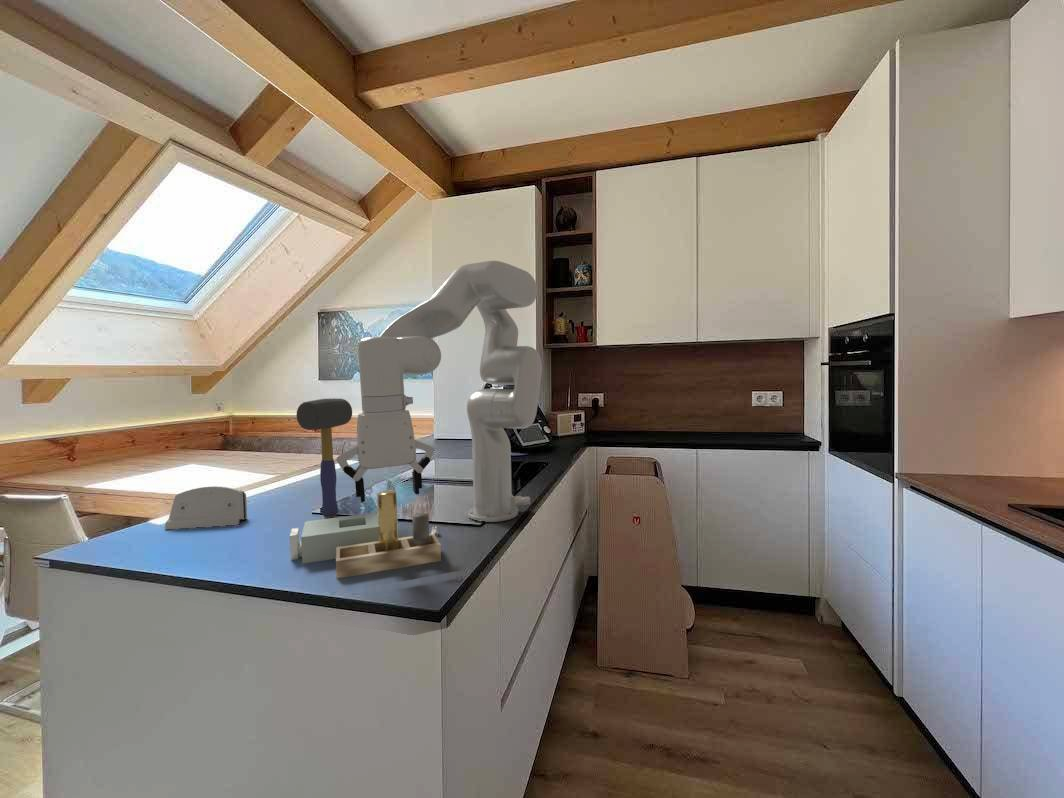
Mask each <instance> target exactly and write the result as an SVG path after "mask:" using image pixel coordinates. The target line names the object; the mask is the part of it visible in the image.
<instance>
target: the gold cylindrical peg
mask: <svg viewBox="0 0 1064 798" xmlns="http://www.w3.org/2000/svg"><path fill="white" fill-rule="evenodd" d="M376 495H377V499H376V500H377V516H378V526H379V550H380V552H384V551H390V550H396V549H399V546H398V538H399V525H398V500H397V497H398V496H397V491H395V490H382V491H379V492H377V493H376Z"/></svg>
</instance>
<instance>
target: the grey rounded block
mask: <svg viewBox="0 0 1064 798" xmlns="http://www.w3.org/2000/svg"><path fill="white" fill-rule="evenodd" d="M247 507H248V505H247V493H245V491H243V490H241V489H237V488H233V487H228V486H204V487H197V488H191V489H188V490H186V491H183V492H180V493H178V494H176V495H175V496H174V498H173V502H172V505H171V510H170V514H169V516H168V519H167V520H166V521H165V526H164V531H168V530H167V529H174V530H179V529H178V528H189V529H197V528H196V527H205V528H213V527H212V526H220V527H227V526H226V525H235V526H239V525H240V521H242V520H243V521H246V520H245V519H247V520H248V508H247ZM238 524H239V525H238Z"/></svg>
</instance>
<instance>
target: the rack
mask: <svg viewBox="0 0 1064 798" xmlns="http://www.w3.org/2000/svg"><path fill="white" fill-rule="evenodd" d="M429 516H430V515H429V513H427V512H418V513H413V515H412V516H411V517H412V535H411V536H402V537H398V546H399V549H396V550H390V551H384V552H380V550H379V541H376V542H369V543H362V544H355V545H348V546H341V547H336V559H335V568H336V579H341V578H347V577H353V576H360V575H366V574H371V573H378V572H383V571H388V570H393V569H395V570H396V569H402V568H406V567H411V566H419V565H425V564H431V563H436V562H442V549H441V548H442V547H441V546H442V545H441V543H440V540H438V537H437V536H436V533H435V534H434V533H430V521H429V520H430V519H429Z"/></svg>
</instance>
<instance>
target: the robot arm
mask: <svg viewBox="0 0 1064 798" xmlns="http://www.w3.org/2000/svg"><path fill="white" fill-rule="evenodd" d="M537 295H538V286H537V282H536V280H535V278H534V276H532V274H530V273H529V271H526V270H524V269H522V268H521V267H520V268H519V267H517V266H514V265H512V264H509V263H507V262H503V261H500V260H488V261H481V262H474V263H468V264H464V265H461V266H459V267H458V268H456V269H455V270H454V271H453V272H452V273H451V274H450V275H449V277H447V279H446V280H445V281H444V283H442V285H440V287H439V288H438V289H437V290H436V291H435V292H434V294H433V295H432V296H431V297H430V298H429V299H427V300H425V301H424V302H421V303H420V304H419V305H417V306H416V307H414V308H412V309H411V310H409V311H407V312H406V313H404V314H402V315H401V316H399V317H398V318H396V319H395V320H394V321H392V322H391V323H390V324H389V325H388V326H387V327H386V328H385V329H384V330H383V331H382V332H381V334H380V335H379V336H369V337H364V338H361V339H360V340H359V341H358V344H357V352H358V354H357V355H358V368H359V382H360V396H361V410H362V412H361V413H358V414H357V423H356V444H355V446H353V447H351V448H350V449H348V450H346V451H345V452H343V453H341V454H340V455H338V456H337V457H336V462H337V464H338V465H339V467H340V468H341V469H342V470H343V472H344V473H345V474H346V475H347V476H348V477H350V478H351V479H352V480H354V484H355V497H356V498H360V503H365V502H366V495H365V482H364V480H365V479H364V477H363V476H364V475H365V473H366V472H367V471H368V470H375V469H383V468H392V467H393V468H394V467H400V466H408V465H409V466H410V467H411V468H412V469H413V470H412V472H411V475H412V476H411V479H412V489H413V490H412V491H413V493H414V495H420V489H423V481H422V480H423V479H422V478H423V477H422V473H423V472H424V470H425V468H426V467H427V466H428V465H429V464H430V462H431V460H432V457H433V456H434V452H435V451H436V449H435V447H434V446H432V445H430V444H428V443H425V442H422V441H419V440H417V439H415V432H414V427H413V423H412V422H413V421H412V417H411V413H410V410H408V409H407V407H408V405H413V404H414V398H413V396H407V395H406V394H405V383H404V380H405V379H404V376H423V375H427V374H431V373H432V372H434V371H435V370H436V369H437V368H438V367H439V366H440V363H441V360H442V351H441V349H440V345H438V343H437V342H436V341H435V340H433V339H435V338H437V337H440V336H443V335H446V334H449V333H450V332H453V331H454V330H457V329H458V328H460V327H461V326H462V325H463V323H465V321H466V319H467V318H468V317H469V315H470V314H471V313H472V312H473V310H474V308H476V307H477V309H478V310H477V311H479V313H480V316H481V317H482V321H483V323H484V330H485V331H484V339H483V345H482V353H481V357H480V365H479V376H480V378H481V380H482V381H483V382H485V383H486V384H490V385H493V386H494V385H496V386H497V385H498V386H501V385H503V386H509V385H510V386H514V388H482V389H478V390H476V391H474V392H473V393H471V394H470V396H469V398H468V400H467V404H466V411H467V412H466V413H467V418H468V423H469V426H470V427H469V428H470V433H471V443H472V444H471V448H472V449H471V451H472V456H471V457H472V479H473V480H472V484H473V485H472V486H473V506H472V507H471V508H469V509H468V511H467V517H468V518H469V519H470V518H471V519H470V520H472V519H474V520H473V521H475V520H481V521H485V522H484V523H497V522H505V521H509V520H512V519H514V518H515V517H517V516H518V514H519V509H518V507H519V506H522V505H523V506H525V505H526V506H527V505H530V504H531V498H530V496H522V495H518V496H517V495H516V496H514V495H513V494H512V461H511V460H512V459H511V455H512V454H511V453H512V451H511V450H512V449H511V448H512V447H511V441H510V438H509V436H508V435H507V432H506V430H505V429H519V430H520V429H527V428H529V427H531V426H532V424H533V423H534V422H535V420H536V418H537V417H536V416H537V412H538V406H539V399H540V389H541V382H542V374H543V364H542V363H543V362H542V359H541V358H542V357H541V355H540V353H539V352H538V350H536V349H535V348H534V347H532V346H529V345H518V339H519V328H518V326H517V323H516V322H515V320H514V319H513V317H512V316H511V315H510V313H509V312H508V311H507V310H508V309H510V310H511V309H521V308H526V307H529V306H531V305H533V304H534V302H535V301H536V298H537ZM416 449H419V450H421V451H424V452H425V453H424V455H423V456H422V458H421V459H420V460H419V461H417V450H416ZM356 455H357V461H358V463H359V465H358V466H357V468H356V469H354V468H353V467H352V466H350V464H349V463H348V462H347V461H348V460H349V459H352V457H355V456H356ZM481 521H480V522H481Z"/></svg>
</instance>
